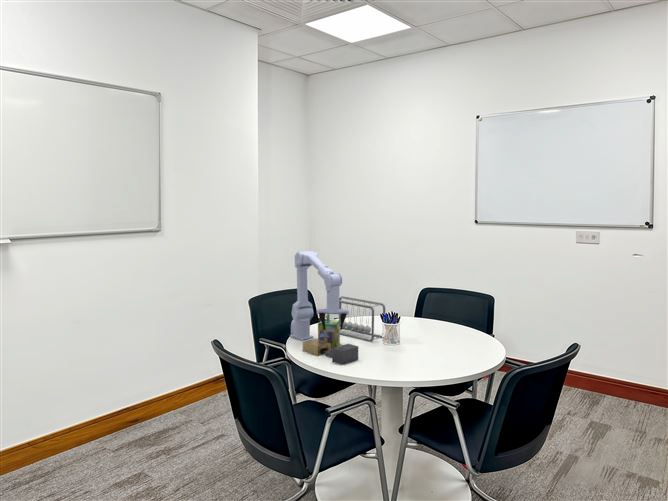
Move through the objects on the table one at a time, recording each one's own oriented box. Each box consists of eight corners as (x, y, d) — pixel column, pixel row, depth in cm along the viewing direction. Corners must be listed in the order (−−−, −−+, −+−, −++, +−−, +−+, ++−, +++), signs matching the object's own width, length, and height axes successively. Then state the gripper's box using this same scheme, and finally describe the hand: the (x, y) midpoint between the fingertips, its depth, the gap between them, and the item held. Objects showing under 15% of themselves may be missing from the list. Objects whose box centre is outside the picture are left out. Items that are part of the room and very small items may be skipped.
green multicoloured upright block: (336, 349, 238) (336, 317, 236) (317, 347, 240) (317, 316, 238) (340, 343, 247) (340, 313, 245) (321, 342, 249) (322, 312, 247)
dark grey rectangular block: (319, 357, 225) (319, 344, 224) (335, 352, 232) (335, 339, 231) (342, 365, 215) (342, 351, 215) (358, 359, 222) (358, 346, 222)
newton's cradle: (326, 331, 268) (327, 298, 266) (339, 327, 276) (340, 295, 274) (372, 342, 249) (373, 306, 247) (385, 338, 257) (385, 303, 255)
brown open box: (302, 351, 234) (302, 341, 234) (315, 347, 240) (315, 338, 239) (317, 356, 227) (317, 346, 227) (330, 352, 233) (330, 342, 232)
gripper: (316, 301, 228) (315, 331, 229) (348, 302, 227) (348, 332, 228) (317, 298, 235) (317, 327, 236) (349, 299, 234) (348, 328, 235)
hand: (332, 329), depth 233 cm, fingers open, 7 cm apart
